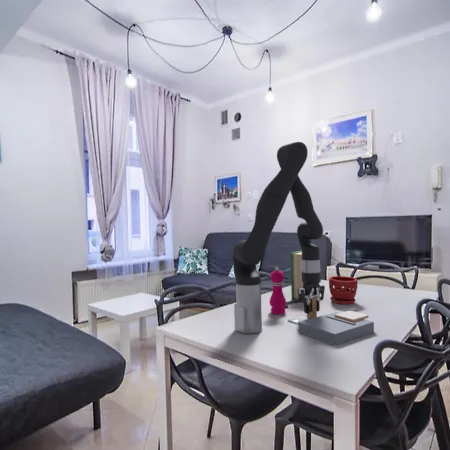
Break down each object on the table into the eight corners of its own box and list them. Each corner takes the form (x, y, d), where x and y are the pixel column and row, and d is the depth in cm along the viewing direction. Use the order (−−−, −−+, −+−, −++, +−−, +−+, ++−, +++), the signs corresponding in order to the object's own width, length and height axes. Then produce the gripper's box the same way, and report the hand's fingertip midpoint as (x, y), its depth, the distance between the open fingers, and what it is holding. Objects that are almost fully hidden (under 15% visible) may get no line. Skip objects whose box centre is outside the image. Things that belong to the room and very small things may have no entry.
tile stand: (335, 344, 101) (334, 332, 101) (298, 331, 114) (298, 320, 114) (374, 331, 112) (373, 320, 112) (336, 320, 125) (336, 311, 125)
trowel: (300, 326, 121) (300, 303, 121) (287, 321, 127) (287, 299, 127) (325, 319, 129) (324, 297, 129) (312, 315, 134) (311, 294, 135)
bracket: (311, 306, 152) (311, 300, 152) (285, 309, 146) (285, 303, 146) (294, 300, 165) (294, 294, 165) (269, 303, 160) (269, 297, 160)
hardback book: (305, 300, 160) (304, 253, 160) (291, 299, 164) (290, 252, 164) (315, 293, 175) (314, 250, 175) (302, 292, 179) (301, 250, 179)
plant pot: (329, 305, 150) (328, 279, 150) (329, 298, 163) (328, 275, 163) (359, 306, 146) (358, 280, 146) (357, 300, 158) (356, 276, 158)
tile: (353, 322, 112) (353, 319, 112) (334, 317, 119) (334, 314, 119) (368, 317, 117) (368, 315, 117) (349, 313, 124) (349, 310, 124)
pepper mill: (273, 309, 144) (272, 265, 144) (288, 311, 141) (287, 266, 141) (267, 313, 138) (266, 267, 138) (282, 315, 134) (281, 268, 135)
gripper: (305, 273, 123) (306, 317, 122) (330, 270, 130) (331, 311, 130) (291, 271, 129) (292, 313, 129) (315, 268, 137) (316, 307, 136)
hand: (312, 312), depth 129 cm, fingers open, 5 cm apart
